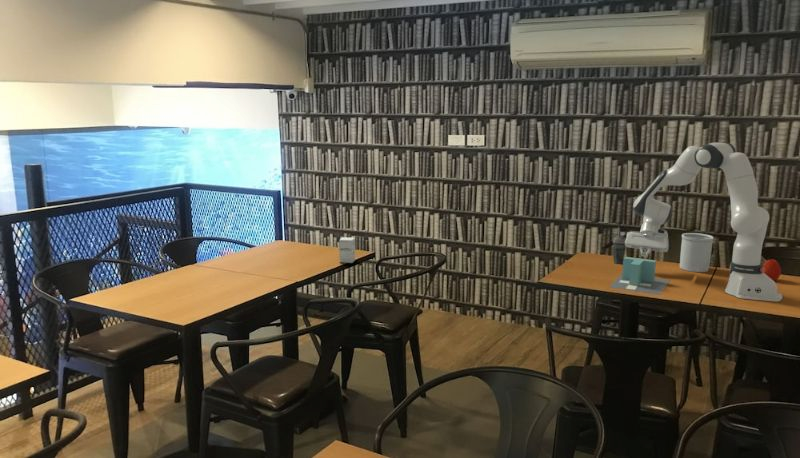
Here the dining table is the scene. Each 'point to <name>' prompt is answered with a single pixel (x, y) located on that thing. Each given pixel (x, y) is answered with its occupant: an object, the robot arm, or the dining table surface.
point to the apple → (772, 269)
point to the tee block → (638, 270)
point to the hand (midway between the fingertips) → (643, 255)
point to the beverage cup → (619, 248)
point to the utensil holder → (695, 252)
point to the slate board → (641, 285)
